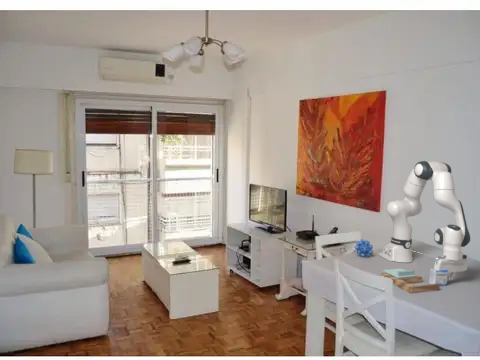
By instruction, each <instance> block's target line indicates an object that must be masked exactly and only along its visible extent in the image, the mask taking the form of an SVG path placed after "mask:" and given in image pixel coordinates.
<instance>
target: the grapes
mask: <svg viewBox="0 0 480 360" xmlns="http://www.w3.org/2000/svg"><path fill="white" fill-rule="evenodd" d="M354 248H355V250H356V254H357V255H360V257H362V258H365V257H366V258H370V256H371V255H372V254H374V253H373V252H374V251H373V245H372V244H370V241H369V240H365V239H363V238H361V239H360V240H357V241H356V245H355V246H354Z"/></svg>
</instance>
